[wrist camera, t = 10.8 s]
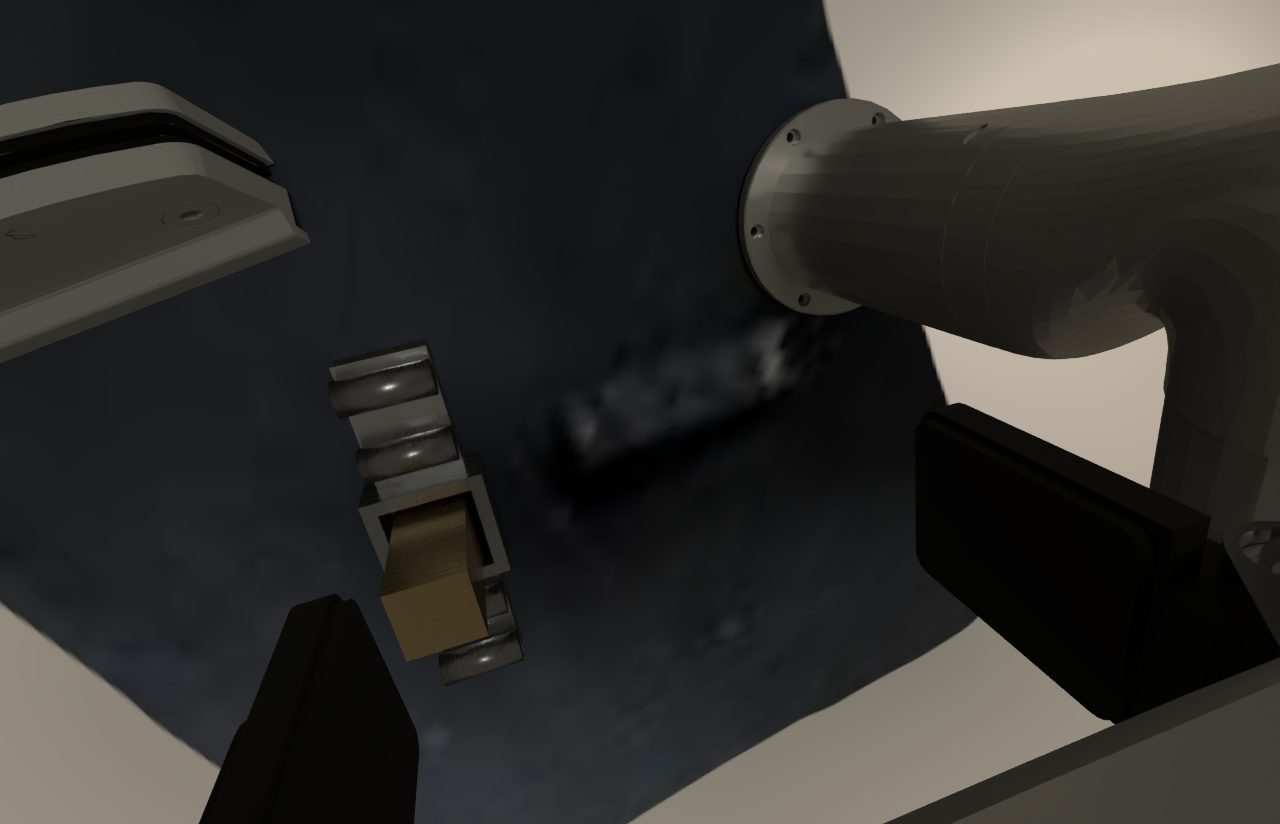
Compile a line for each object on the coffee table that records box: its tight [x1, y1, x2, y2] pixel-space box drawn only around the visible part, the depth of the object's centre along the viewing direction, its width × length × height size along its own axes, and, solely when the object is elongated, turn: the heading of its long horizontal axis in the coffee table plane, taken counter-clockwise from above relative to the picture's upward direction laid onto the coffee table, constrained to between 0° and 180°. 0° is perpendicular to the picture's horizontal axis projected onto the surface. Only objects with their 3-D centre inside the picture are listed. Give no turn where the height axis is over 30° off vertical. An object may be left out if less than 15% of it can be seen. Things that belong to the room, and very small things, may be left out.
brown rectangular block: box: [380, 491, 489, 662], centre depth 34 cm, size 4×4×10 cm
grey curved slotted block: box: [0, 82, 310, 363], centre depth 26 cm, size 17×5×10 cm, turn 110°
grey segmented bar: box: [328, 339, 524, 686], centre depth 37 cm, size 7×22×4 cm, turn 10°
